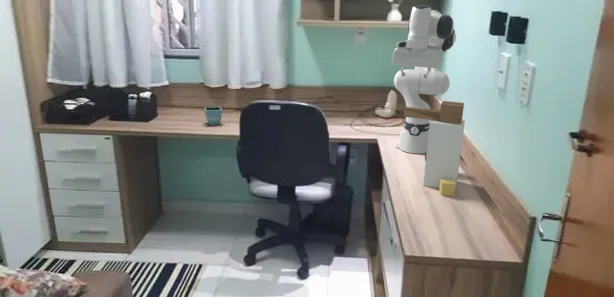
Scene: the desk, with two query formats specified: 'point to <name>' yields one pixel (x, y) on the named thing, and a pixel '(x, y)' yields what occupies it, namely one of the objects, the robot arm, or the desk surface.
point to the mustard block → (447, 187)
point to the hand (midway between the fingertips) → (414, 77)
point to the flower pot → (213, 115)
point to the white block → (443, 152)
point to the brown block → (438, 112)
